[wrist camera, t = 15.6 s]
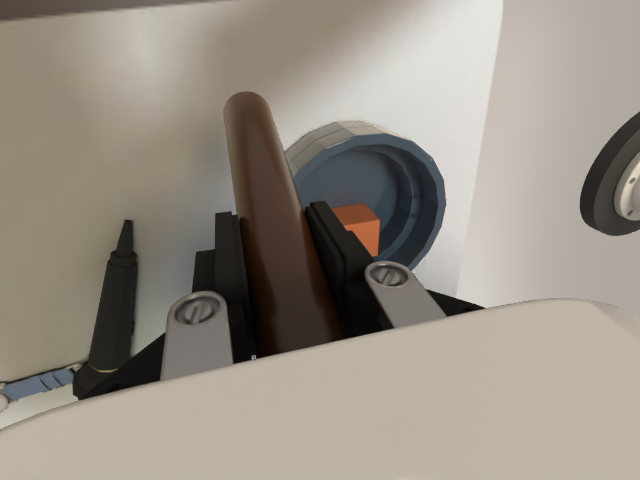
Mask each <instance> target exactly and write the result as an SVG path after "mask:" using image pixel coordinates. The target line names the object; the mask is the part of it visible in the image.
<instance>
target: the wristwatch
mask: <svg viewBox="0 0 640 480" xmlns="http://www.w3.org/2000/svg"><path fill="white" fill-rule="evenodd" d="M82 366H83V365H81V364H79V363H77V364H74V365H71V366H68V367H66V368H64V369H60V370H57V371H51V372H47V373H45V374H43V375H36V376H33V377H31V378H28V379H25V380H21V381H18V382H14V383H11V384H7V385H5V384H6V383H0V413H1V412H3V411H4V410H5V409H7V408H8V407H9V406H11V405H12V404H14V403H15V402H17V401H18V399H19V398H22V397H26V396H29V395H33V394H36V393H40V392H47V391H50V390H52V389H53V388H60V387H63V386H65V385H67V384H71V383H72V380H73V375H74V374H75V373H73V372H72V371H71V370H70V369H69V368H72V367H77V368H78V369H80V368H81V367H82Z"/></svg>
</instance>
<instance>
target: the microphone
mask: <svg viewBox="0 0 640 480" xmlns="http://www.w3.org/2000/svg"><path fill="white" fill-rule="evenodd" d="M132 245H133V234H132V221H130V220H125V221H124V224H123V228H122V231H121V234H120V238H119V241H118V245H117V250H115V251H113V252H111V254H110V260H108V262H107V267H106V272H105V278H104V283H103V288H102V293H101V298H100V303H99V308H98V313H97V318H96V323H95V328H94V333H93V339H92V344H91V349H90V354H89V361H88V362H86V363H85V364H84V365H83V366H82V367H81V368H80V369H79V370H78V371H77V372H76V373H75V374H74V375H73V380H72V384H73V395H75V396H76V397H78V400H80V399H81V398H82V397H83V396H84V395H85V394H86V393H87V392H89V391H90V390H91V389H92V388H93V387H95V386H96V385H97V384H99V383H100V382H101V381H103V380H104V379H105V378H106V377H108V376H109V375H110V374H112V373H113V372H114V371H116V370H117V369H118V368H119V367H121V366H122V365H123V364H125V363H126V362H127V361H128V360H130V348H131V336H132V335H133V333H134V321H133V310H134V298H135V285H136V272H137V263H136V256H137V255H136V254H135V253H134V252H132Z"/></svg>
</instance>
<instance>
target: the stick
mask: <svg viewBox="0 0 640 480" xmlns="http://www.w3.org/2000/svg"><path fill="white" fill-rule="evenodd" d="M223 114H224V122H225V130H226V137H227V144H228V152H229V159H230V167H231V174H232V182H233V189H234V196H235V204H236V211H237V215H238V219H239V226H240V233H241V240H242V248H243V255H244V262H245V269H246V276H247V284H248V291H249V298H250V305H251V313H252V320H253V323H252V330H253V337H254V345H255V352H256V359H259V358H263V357H268V356H272V355H277V354H281V353H286V352H290V351H295V350H299V349H304V348H308V347H313V346H317V345H322V344H326V343H331V342H335V341H340V340H344V339H348V337H347V334H346V332H345V329H344V326H343V323H342V320H341V317H340V314H339V311H338V308H337V305H336V302H335V299H334V296H333V293H332V290H331V287H330V285H329V282H328V279H327V276H326V273H325V270H324V267H323V264H322V261H321V258H320V255H319V252H318V249H317V246H316V243H315V240H314V237H313V235H312V232H311V229H310V226H309V223H308V220H307V217H306V214H305V211H304V208H303V205H302V202H301V199H300V196H299V193H298V190H297V188H296V185H295V182H294V179H293V176H292V173H291V170H290V167H289V164H288V161H287V158H286V155H285V152H284V149H283V146H282V143H281V140H280V138H279V135H278V132H277V129H276V126H275V123H274V120H273V117H272V114H271V111H270V108H269V106H268V104H267V102H266V101H265V100H264V99H263V98H262V97H261V96H260V95H258V94H256V93H253V92H240V93H237V94H235V95H233V96H232V97H230V98H229V99H228V101H227V102H226V104H225V107H224V113H223Z"/></svg>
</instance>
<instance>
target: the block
mask: <svg viewBox="0 0 640 480" xmlns="http://www.w3.org/2000/svg"><path fill="white" fill-rule="evenodd" d="M331 209H332V211H333V212H334V213H335V215H336V216H337V218H338V219H339V220H340V222H341V223H342V224H343V226H344V227H345V229H346V230H347V231H348V230H352V231H353V232H354V233H355V235H356V236H357V237H358V239H359V240H360V241H361V243H362V244H363V245H364V246H365V248H366V249H367V250H368V252H369V253H370V254H371V256H372V257H373V256H378V242H379V225H380V220H379V219H378V218H377V216H376V215H375V214H374V213H373V212H372V211H371V210H370V209H369V208H368V207H367V206H366V205H365V204H364V203H361V204H355V205H348V206H342V207H336V208H331Z"/></svg>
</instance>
